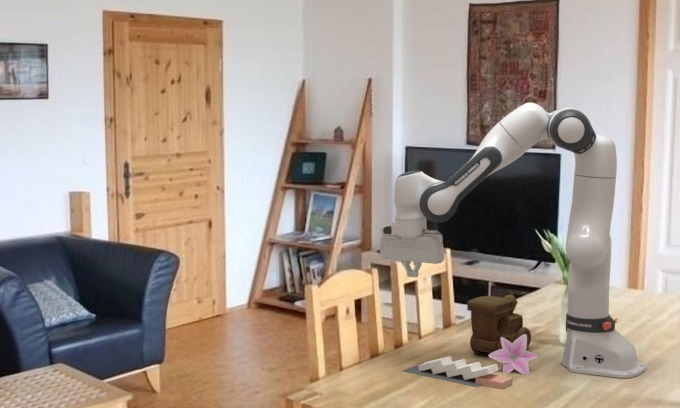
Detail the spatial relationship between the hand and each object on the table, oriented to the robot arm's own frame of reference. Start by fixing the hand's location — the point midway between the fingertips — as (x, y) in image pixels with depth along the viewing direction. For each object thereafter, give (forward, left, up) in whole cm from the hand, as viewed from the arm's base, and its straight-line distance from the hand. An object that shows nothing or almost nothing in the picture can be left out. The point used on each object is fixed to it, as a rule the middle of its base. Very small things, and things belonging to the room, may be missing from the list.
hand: (412, 276), depth 263 cm
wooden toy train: (-16, -22, -25) cm, 36 cm away
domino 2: (-13, +7, -23) cm, 27 cm away
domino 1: (-8, +7, -23) cm, 26 cm away
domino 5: (-27, +7, -23) cm, 36 cm away
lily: (-29, -6, -25) cm, 38 cm away
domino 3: (-18, +7, -23) cm, 30 cm away
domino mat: (-17, +7, -24) cm, 30 cm away
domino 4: (-23, +7, -23) cm, 33 cm away
